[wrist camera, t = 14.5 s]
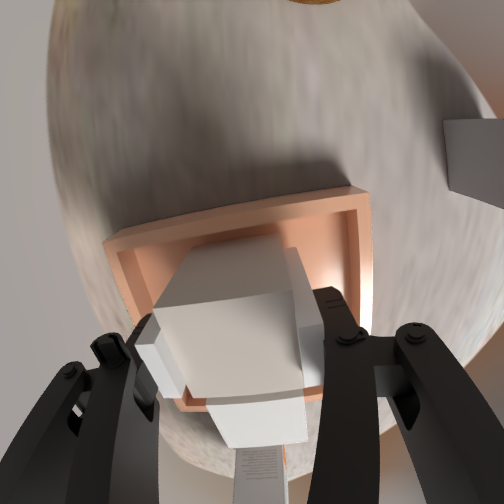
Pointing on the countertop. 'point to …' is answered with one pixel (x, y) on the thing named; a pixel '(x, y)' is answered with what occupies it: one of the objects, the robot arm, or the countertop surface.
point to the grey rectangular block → (476, 158)
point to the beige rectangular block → (233, 319)
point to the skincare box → (260, 475)
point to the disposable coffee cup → (314, 1)
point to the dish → (247, 225)
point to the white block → (260, 418)
